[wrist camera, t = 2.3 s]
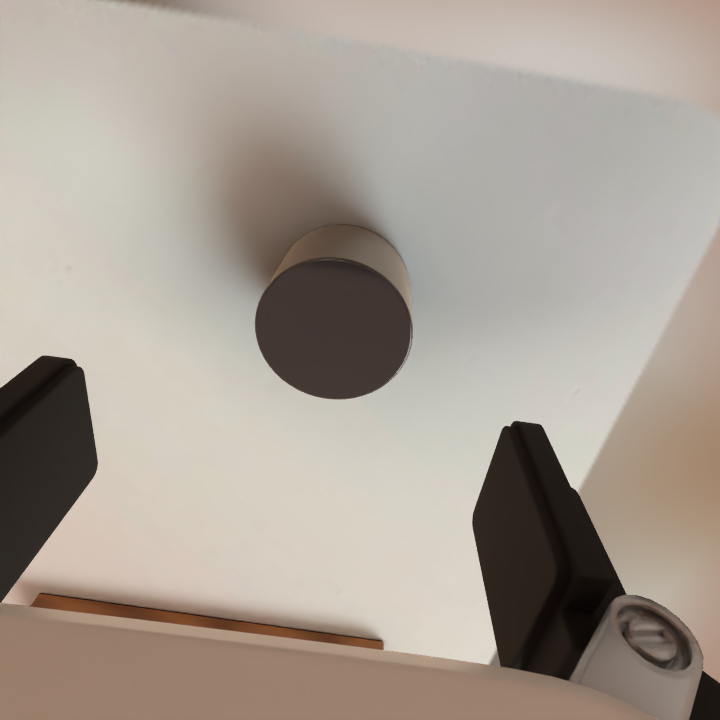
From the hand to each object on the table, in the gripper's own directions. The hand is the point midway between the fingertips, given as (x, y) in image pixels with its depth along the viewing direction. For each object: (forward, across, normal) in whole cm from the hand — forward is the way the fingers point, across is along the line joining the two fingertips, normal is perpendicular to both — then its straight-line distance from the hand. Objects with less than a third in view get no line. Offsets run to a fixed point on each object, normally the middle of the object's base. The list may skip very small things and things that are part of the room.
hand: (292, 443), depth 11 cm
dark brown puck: (+8, 0, -1) cm, 8 cm away
